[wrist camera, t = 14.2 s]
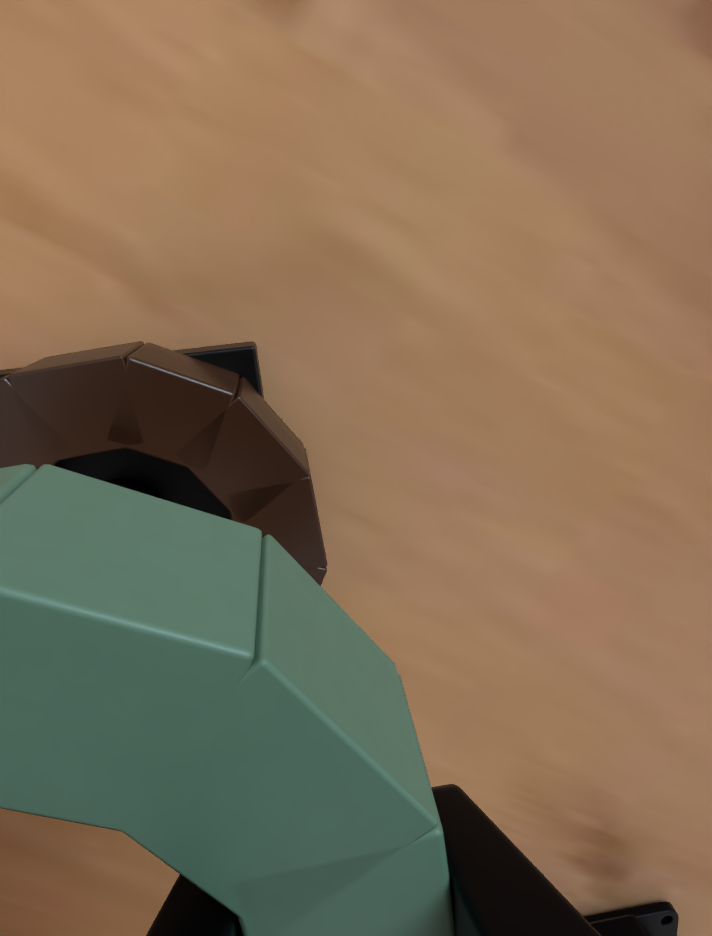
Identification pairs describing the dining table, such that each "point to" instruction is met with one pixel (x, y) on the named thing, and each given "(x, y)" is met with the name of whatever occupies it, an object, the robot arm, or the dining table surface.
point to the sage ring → (210, 711)
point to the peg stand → (162, 474)
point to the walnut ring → (168, 432)
